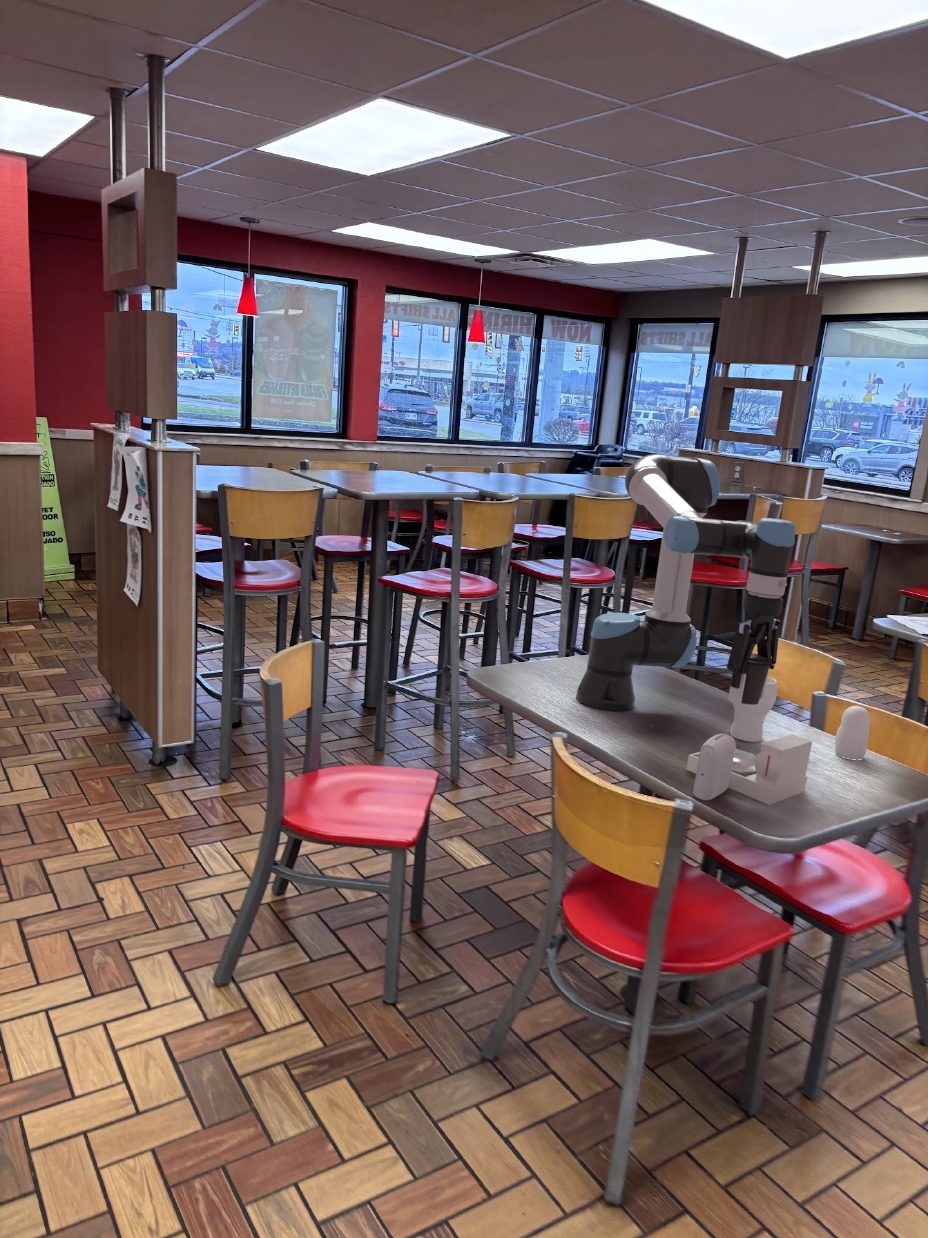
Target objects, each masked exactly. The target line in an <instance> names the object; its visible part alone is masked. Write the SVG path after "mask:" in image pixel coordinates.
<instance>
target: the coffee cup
mask: <svg viewBox="0 0 928 1238" xmlns="http://www.w3.org/2000/svg"><path fill="white" fill-rule="evenodd" d="M771 665H773V664H772V661H771V660H770V659H768V658H765V657H764V656H761V655H758V653H753V652H752V654H751V657H750V659H749V661H748V664H747V666H746V669H745V671H744V673H745V674H746V679H745V685H744V690H743V696H742V701H741V703H743V704H750V705H755V704H758V702H759V699H760V696H761V693H762V690H763V686H764V683H765V680H766V677H767V676H768V675H767V673H768V674H769V670H770V669H769V667H770V666H771Z"/></svg>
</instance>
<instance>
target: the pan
mask: <svg viewBox="0 0 928 1238" xmlns="http://www.w3.org/2000/svg"><path fill="white" fill-rule="evenodd" d="M756 756H757V754H756V755H755V754H753V753H751V752H748V751H744V750H741V749H737V748H735V754H734V759H733V765H732V771H731V772H734V773H736V774H756V773H757V772H756V770H755V766H754V760H755V757H756Z"/></svg>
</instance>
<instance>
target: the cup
mask: <svg viewBox="0 0 928 1238" xmlns="http://www.w3.org/2000/svg"><path fill="white" fill-rule="evenodd" d="M777 681H778V680H777V679H775V678H773V677H771V676H769V675H767V681H766V686H765V692H764V697H763V699H759V702H758V704H755V705H750V704H743V703H741V704H736V703H733V702H731V703H732V706H733V710H734V715H733V716H734V718H733V722H732V724H731V726H730V731H729V735H730V736H732V737H733V738H734V739H738V740H740V741H741V740H742V741H745V742H751V743H752V742H755V743H759V742H761V741H762V740H763V733H764V732H763V731H764V728H763V725H764V721H765V719H766V716H767V715H768V714H769V713H770V711H771V710H772V709H773V707H774V705H775V703H776V700H777V695H778V682H777Z"/></svg>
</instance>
